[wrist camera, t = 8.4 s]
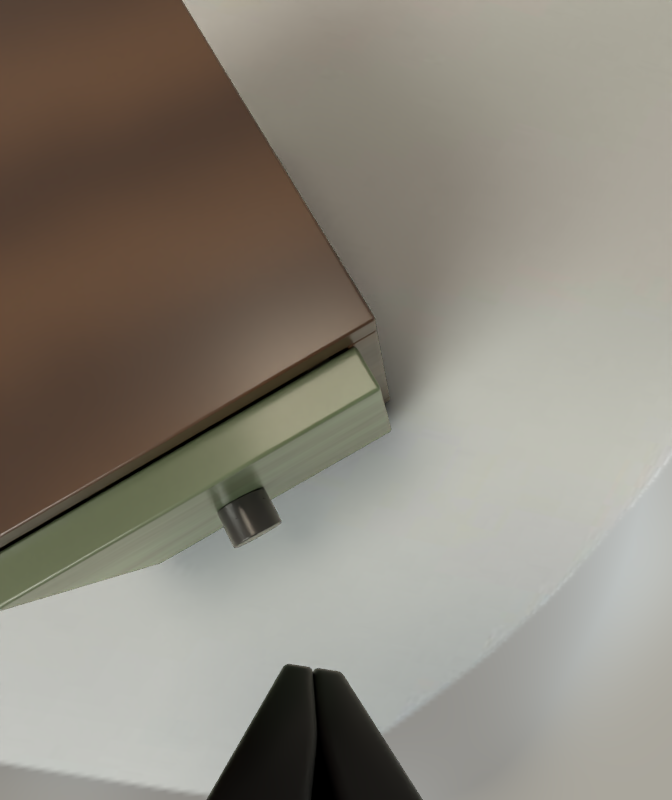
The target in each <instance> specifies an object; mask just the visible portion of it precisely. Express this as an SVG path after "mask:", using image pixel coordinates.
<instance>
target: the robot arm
mask: <svg viewBox="0 0 672 800" xmlns="http://www.w3.org/2000/svg"><path fill="white" fill-rule="evenodd" d="M207 800H422V798H421V796H420V795H419V793H418V792H417V790H416V789H415V787H414V785H413V784H412V782H411V781H410V779H409V778H408V776H407V775H406V773H405V771H404V770H403V768H402V767H401V765H400V763H399V762H398V760H397V759H396V757H395V756H394V754H393V752H392V751H391V749H390V748H389V746H388V744H387V743H386V741H385V740H384V738H383V737H382V735H381V733H380V732H379V730H378V729H377V727H376V726H375V724H374V722H373V721H372V719H371V718H370V716H369V715H368V713H367V711H366V710H365V708H364V707H363V705H362V703H361V702H360V700H359V699H358V697H357V696H356V694H355V692H354V691H353V689H352V688H351V686H350V685H349V683H348V681H347V680H346V678H345V677H344V675H343V674H342V673H341V672H338V671H333V670H326V669H319V668H317V669H315V670H314V671H312V669H311V668H310V667H306V666H299V665H292V664H287V665H285V666H284V667H283V668H282V670H281V672H280V673H279V675H278V677H277V679H276V680H275V682H274V684H273V686H272V687H271V689H270V691H269V692H268V694H267V696H266V698H265V699H264V701H263V703H262V705H261V706H260V708H259V710H258V712H257V713H256V715H255V717H254V718H253V720H252V722H251V724H250V725H249V727H248V729H247V731H246V732H245V734H244V736H243V737H242V739H241V741H240V743H239V744H238V746H237V748H236V750H235V751H234V753H233V755H232V757H231V758H230V760H229V762H228V763H227V765H226V767H225V769H224V770H223V772H222V774H221V776H220V777H219V779H218V781H217V782H216V784H215V786H214V788H213V789H212V791H211V793H210V795H209V796H208V798H207Z"/></svg>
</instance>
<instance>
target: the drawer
mask: <svg viewBox="0 0 672 800" xmlns="http://www.w3.org/2000/svg"><path fill="white" fill-rule="evenodd" d="M390 431H391V426H390V422H389V419H388V415H387V411H386V407H385V404H384V400H383V396H382V392H381V389H380V386H379V384H378V382H377V380H376V379H375V377H374V375H373V374H372V372H371V370H370V369H369V367H368V365H367V364H366V362H365V360H364V358H363V357H362V355H361V353H360V352H359V350H358V349H357V348H356V347H352V348H351V349H349V350H347V351H345V352H344V353H342V354H340V355H338V356H337V357H335V358H333V359H332V360H330V358H327V359H325V360H323V361H322V362H320V363H318V364H317V365H315V366H313V367H311V368H310V369H308V370H306V371H305V372H303V373H301V374H299V375H298V376H296V377H294V378H292V379H291V380H289V381H287V382H286V383H284V384H282V385H280V386H279V387H277V388H275V389H273V390H272V391H270V392H268V393H267V394H265V395H263V396H261V397H260V398H258V399H256V400H255V401H253V402H251V403H249V404H248V405H246V406H244V407H242V408H241V409H239V410H237V411H236V412H234V413H232V414H230V415H229V416H227V417H225V418H224V419H222V420H220V421H218V422H217V423H215V424H213V425H211V426H210V427H208V428H206V429H205V430H203V431H201V432H199V433H198V434H196V435H194V436H192V437H191V438H189V439H187V440H186V441H184V442H182V443H180V444H179V445H177V446H175V447H174V448H172V449H170V450H168V451H167V452H165V453H163V454H161V455H160V456H158V457H156V458H155V459H153V460H151V461H149V462H148V463H146V464H144V465H142V466H141V467H139V468H137V469H136V470H134V471H132V472H130V473H129V474H127V475H125V476H124V477H122V478H120V479H118V480H117V481H115V482H113V483H111V484H110V485H108V486H106V487H105V488H103V489H101V490H99V491H98V492H96V493H94V494H93V495H91V496H89V497H87V498H86V499H90V500H88V501H87V502H85V503H83V504H81V505H80V506H78V507H76V508H75V509H73V510H71V511H69V512H68V513H66V514H64V515H63V516H61V517H59V518H57V519H56V520H54V521H52V522H50V523H49V524H47V525H45V526H44V527H42V528H40V529H38V530H37V531H35V532H33V533H31V534H30V535H28V536H26V537H25V538H23V539H21V540H19V541H18V542H16V543H14V544H13V545H11V546H9V547H7V548H6V549H4V550H2V551H0V611H2V610H5V609H8V608H12V607H15V606H18V605H22V604H25V603H28V602H32V601H35V600H39V599H42V598H45V597H49V596H52V595H55V594H59V593H62V592H65V591H69V590H72V589H76V588H79V587H82V586H86V585H89V584H92V583H96V582H99V581H102V580H106V579H109V578H112V577H116V576H119V575H123V574H126V573H129V572H133V571H136V570H139V569H143V568H146V567H149V566H153V565H156V564H159V563H162V562H164V561H165V560H167V559H169V558H170V557H172V556H174V555H176V554H177V553H179V552H181V551H183V550H184V549H186V548H188V547H190V546H191V545H193V544H195V543H197V542H198V541H200V540H202V539H204V538H205V537H207V536H209V535H211V534H212V533H214V532H216V531H218V530H219V529H221V528H223V527H224V528H225V531H226V533H227V535H228V537H229V539H230V541H231V543H232V545H233V547H234V548H237V547H240V546H242V545H244V544H246V543H248V542H250V541H252V540H254V539H256V538H258V537H260V536H261V535H263V534H265V533H267V532H268V531H270V530H272V529H273V528H275V527H277V526H278V525H279V524H281V522H282V521H281V519H280V517H279V515H278V513H277V511H276V509H275V507H274V505H273V503H272V501H271V500H272V499H274V498H275V497H277V496H279V495H280V494H282V493H284V492H286V491H287V490H289V489H291V488H293V487H294V486H296V485H298V484H300V483H301V482H303V481H305V480H307V479H308V478H310V477H312V476H314V475H315V474H317V473H319V472H321V471H322V470H324V469H326V468H328V467H329V466H331V465H333V464H335V463H336V462H338V461H340V460H342V459H343V458H345V457H347V456H349V455H350V454H352V453H354V452H356V451H357V450H359V449H361V448H363V447H364V446H366V445H368V444H370V443H371V442H373V441H375V440H377V439H378V438H380V437H382V436H383V435H385V434H387V433H389V432H390Z"/></svg>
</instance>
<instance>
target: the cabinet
mask: <svg viewBox="0 0 672 800" xmlns="http://www.w3.org/2000/svg"><path fill="white" fill-rule="evenodd" d="M352 347H356V348H357V349H358V350H359V352H360V353H361V355H362V357H363V358H364V360H365V362H366V364H367V365H368V367H369V369H370V370H371V372H372V374H373V375H374V377H375V379H376V380H377V382H378V384H379V386H380V389H381V392H382V396H383V400H384V403H386V402H388V401H389V400H390V395H389V391H388V386H387V380H386V375H385V370H384V365H383V360H382V354H381V349H380V344H379V339H378V334H377V328H376V322H375V317H374V316H373V314H372V312H371V311H370V309H369V307H368V306H367V304H366V302H365V301H364V299H363V297H362V296H361V294H360V292H359V291H358V289H357V288H356V286H355V284H354V283H353V281H352V279H351V278H350V276H349V274H348V273H347V271H346V269H345V268H344V266H343V264H342V263H341V261H340V260H339V258H338V256H337V255H336V253H335V251H334V250H333V248H332V246H331V245H330V243H329V241H328V240H327V238H326V236H325V235H324V233H323V232H322V230H321V228H320V227H319V225H318V223H317V222H316V220H315V218H314V217H313V215H312V213H311V212H310V210H309V209H308V207H307V205H306V204H305V202H304V200H303V199H302V197H301V195H300V194H299V192H298V190H297V189H296V187H295V185H294V184H293V182H292V181H291V179H290V177H289V176H288V174H287V172H286V171H285V169H284V167H283V166H282V164H281V162H280V161H279V159H278V157H277V156H276V154H275V153H274V151H273V149H272V148H271V146H270V144H269V143H268V141H267V139H266V138H265V136H264V134H263V133H262V131H261V130H260V128H259V126H258V125H257V123H256V121H255V120H254V118H253V116H252V115H251V113H250V111H249V110H248V108H247V106H246V105H245V103H244V102H243V100H242V98H241V97H240V95H239V93H238V92H237V90H236V88H235V87H234V85H233V83H232V82H231V80H230V78H229V77H228V75H227V74H226V72H225V70H224V69H223V67H222V65H221V64H220V62H219V60H218V59H217V57H216V55H215V54H214V52H213V50H212V49H211V47H210V46H209V44H208V42H207V41H206V39H205V37H204V36H203V34H202V32H201V31H200V29H199V27H198V26H197V24H196V23H195V21H194V19H193V18H192V16H191V14H190V13H189V11H188V9H187V8H186V6H185V4H184V3H183V1H182V0H0V551H2V550H4V549H6V548H7V547H9V546H11V545H13V544H14V543H16V542H18V541H19V540H21V539H23V538H25V537H26V536H28V535H30V534H31V533H33V532H35V531H37V530H38V529H40V528H42V527H44V526H45V525H47V524H49V523H50V522H52V521H54V520H56V519H57V518H59V517H61V516H63V515H64V514H66V513H68V512H69V511H71V510H73V509H75V508H76V507H78V506H80V505H81V504H83V503H85V502H87V501H88V500H90V499H86V498H87V497H89V496H91V495H93V494H94V493H96V492H98V491H99V490H101V489H103V488H105V487H106V486H108V485H110V484H111V483H113V482H115V481H117V480H118V479H120V478H122V477H124V476H125V475H127V474H129V473H130V472H132V471H134V470H136V469H137V468H139V467H141V466H142V465H144V464H146V463H148V462H149V461H151V460H153V459H155V458H156V457H158V456H160V455H161V454H163V453H165V452H167V451H168V450H170V449H172V448H174V447H175V446H177V445H179V444H180V443H182V442H184V441H186V440H187V439H189V438H191V437H192V436H194V435H196V434H198V433H199V432H201V431H203V430H205V429H206V428H208V427H210V426H211V425H213V424H215V423H217V422H218V421H220V420H222V419H224V418H225V417H227V416H229V415H230V414H232V413H234V412H236V411H237V410H239V409H241V408H242V407H244V406H246V405H248V404H249V403H251V402H253V401H255V400H256V399H258V398H260V397H261V396H263V395H265V394H267V393H268V392H270V391H272V390H273V389H275V388H277V387H279V386H280V385H282V384H284V383H286V382H287V381H289V380H291V379H292V378H294V377H296V376H298V375H299V374H301V373H303V372H305V371H306V370H308V369H310V368H311V367H313V366H315V365H317V364H318V363H320V362H322V361H323V360H325V359H327V358H330V360H332V359H333V358H335V357H337V356H338V355H340V354H342V353H344V352H345V351H347V350H349V349H351V348H352Z"/></svg>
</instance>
